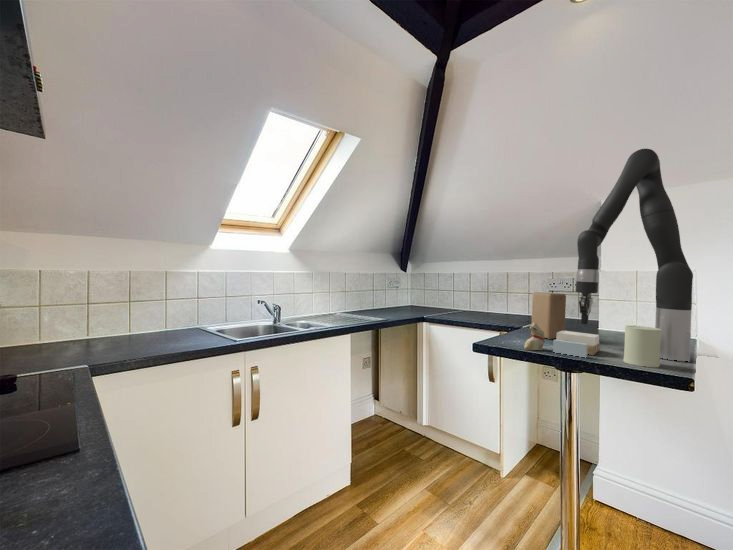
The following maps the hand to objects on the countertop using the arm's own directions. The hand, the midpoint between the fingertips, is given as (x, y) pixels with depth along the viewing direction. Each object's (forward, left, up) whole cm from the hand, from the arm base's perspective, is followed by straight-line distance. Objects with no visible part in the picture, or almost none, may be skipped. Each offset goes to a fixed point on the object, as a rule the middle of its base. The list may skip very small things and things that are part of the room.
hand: (584, 324), depth 138 cm
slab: (0, +14, -6) cm, 15 cm away
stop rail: (0, +26, -9) cm, 27 cm away
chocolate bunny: (+11, +26, -9) cm, 29 cm away
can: (-19, +20, -9) cm, 29 cm away
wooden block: (+16, -9, -9) cm, 20 cm away
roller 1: (0, +17, -8) cm, 19 cm away
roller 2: (0, +13, -8) cm, 15 cm away
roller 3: (0, +7, -8) cm, 10 cm away
